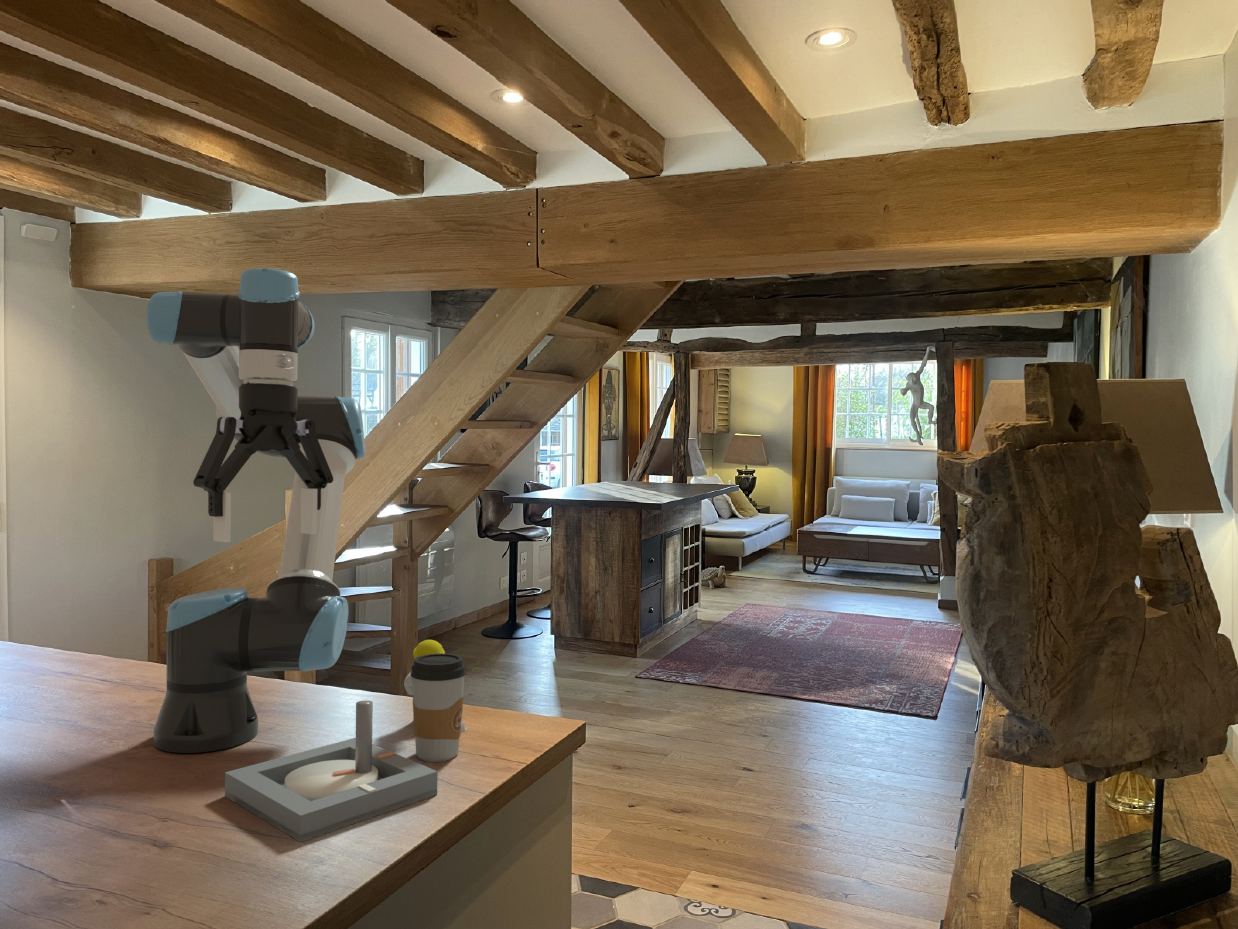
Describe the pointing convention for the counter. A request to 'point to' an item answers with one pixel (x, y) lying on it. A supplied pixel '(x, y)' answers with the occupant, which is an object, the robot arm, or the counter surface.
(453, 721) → the coffee cup
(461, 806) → the counter surface
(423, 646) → the figurine
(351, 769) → the dial
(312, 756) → the dial board
